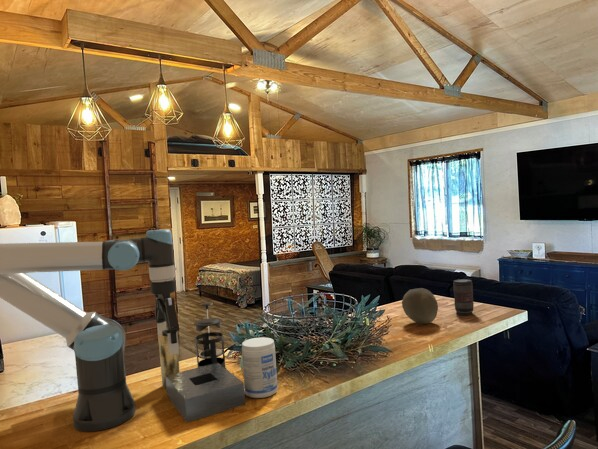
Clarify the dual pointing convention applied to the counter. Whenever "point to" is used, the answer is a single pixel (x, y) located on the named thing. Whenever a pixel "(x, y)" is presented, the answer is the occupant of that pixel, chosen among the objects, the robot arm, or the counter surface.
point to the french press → (209, 341)
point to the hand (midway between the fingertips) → (168, 348)
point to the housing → (204, 391)
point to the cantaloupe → (420, 305)
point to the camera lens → (463, 297)
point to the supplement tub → (259, 367)
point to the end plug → (167, 358)
